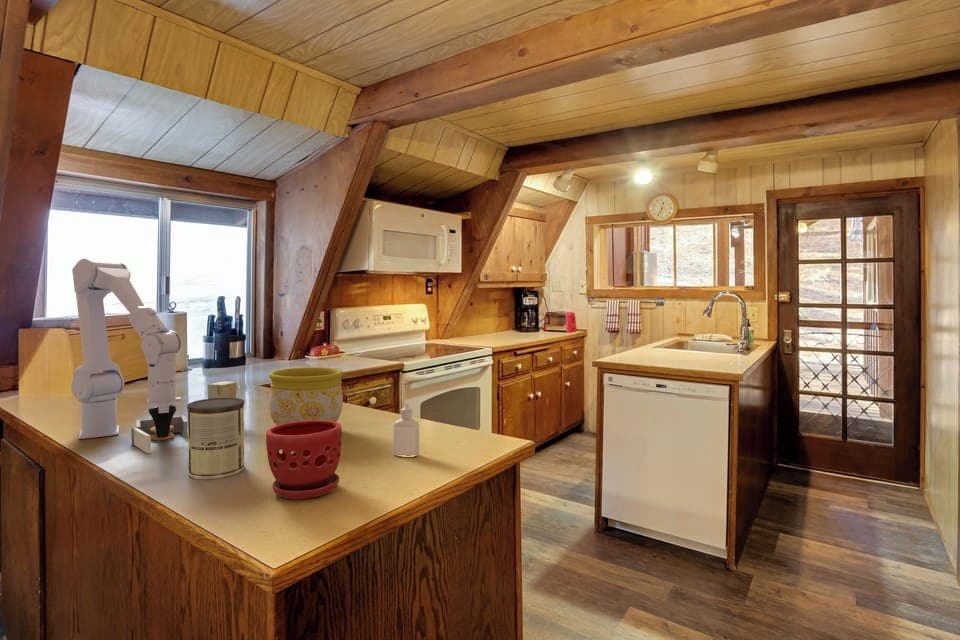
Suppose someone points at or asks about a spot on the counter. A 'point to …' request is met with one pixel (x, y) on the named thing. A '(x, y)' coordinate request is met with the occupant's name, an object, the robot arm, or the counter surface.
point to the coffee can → (216, 437)
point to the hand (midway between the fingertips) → (162, 436)
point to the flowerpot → (305, 394)
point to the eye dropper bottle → (406, 434)
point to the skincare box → (222, 390)
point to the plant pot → (304, 457)
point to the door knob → (170, 435)
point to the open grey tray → (176, 421)
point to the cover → (141, 439)
